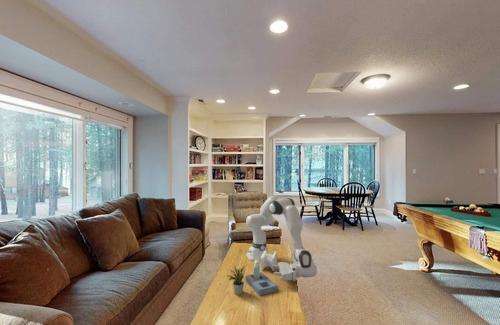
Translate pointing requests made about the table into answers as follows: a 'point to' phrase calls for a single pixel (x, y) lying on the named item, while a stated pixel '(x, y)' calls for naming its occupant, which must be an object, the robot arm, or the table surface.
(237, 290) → the house plant
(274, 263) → the cable organizer
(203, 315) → the table surface
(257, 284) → the socket panel
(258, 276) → the plug
